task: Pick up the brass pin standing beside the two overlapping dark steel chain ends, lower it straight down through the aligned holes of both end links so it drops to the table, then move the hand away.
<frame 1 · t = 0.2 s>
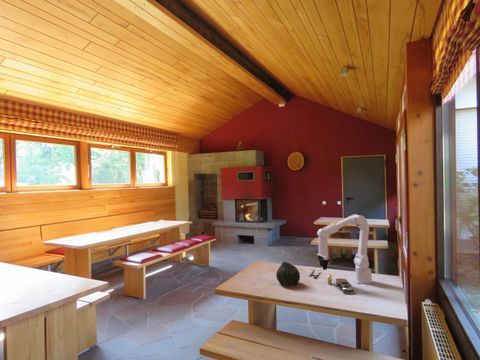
hand: (323, 268, 196), 10 cm above the table, tool pointing down, fingers open, 7 cm apart
chain ends: (344, 288, 184), on the table
squash: (287, 284, 194), on the table
hacksaw: (313, 274, 216), on the table
brass pin: (329, 284, 193), on the table
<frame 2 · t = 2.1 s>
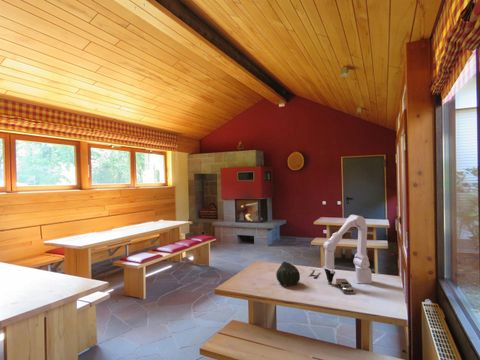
hand: (329, 281, 193), 2 cm above the table, tool pointing down, fingers closed on brass pin, 2 cm apart
brass pin: (329, 284, 193), on the table, touching gripper
everything else where it was.
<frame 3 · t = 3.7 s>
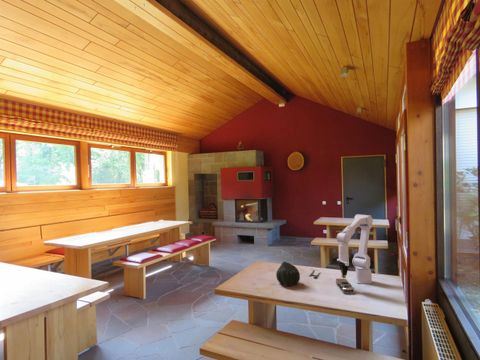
hand: (343, 274, 185), 9 cm above the table, tool pointing down, fingers closed on brass pin, 2 cm apart
brass pin: (343, 277, 185), point 7 cm above the table, touching gripper
everything else where it was.
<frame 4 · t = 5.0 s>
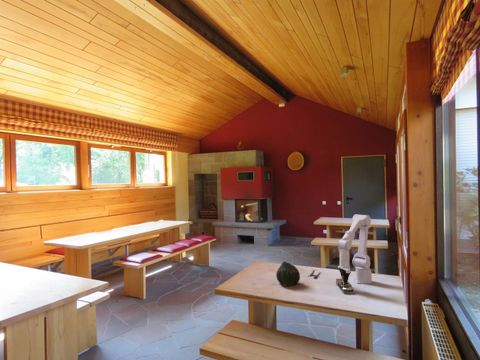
hand: (344, 281, 184), 5 cm above the table, tool pointing down, fingers closed on brass pin, 2 cm apart
brass pin: (344, 284, 184), point 3 cm above the table, touching gripper
everything else where it was.
when the fingers open (5 cm above the table, at t = 5.7 s): brass pin drops 3 cm, resting in chain ends.
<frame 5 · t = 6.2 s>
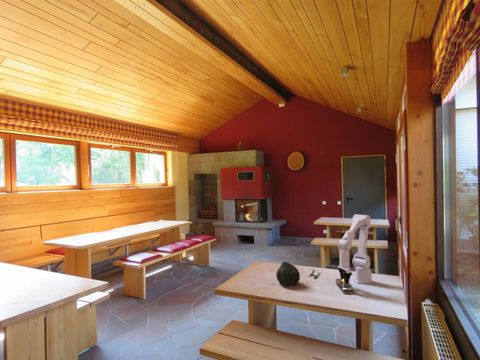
hand: (344, 281, 184), 5 cm above the table, tool pointing down, fingers open, 7 cm apart
brass pin: (344, 289, 184), resting in chain ends
everything else where it was.
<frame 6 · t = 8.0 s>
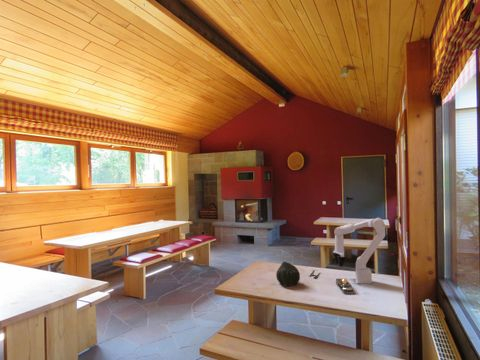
hand: (339, 264, 203), 9 cm above the table, tool pointing down, fingers open, 7 cm apart
nothing on the table moved.
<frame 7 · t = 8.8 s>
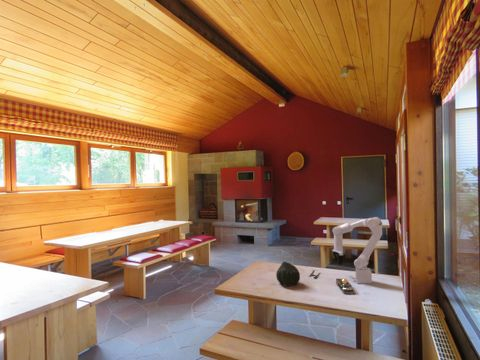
hand: (338, 263, 208), 9 cm above the table, tool pointing down, fingers open, 7 cm apart
nothing on the table moved.
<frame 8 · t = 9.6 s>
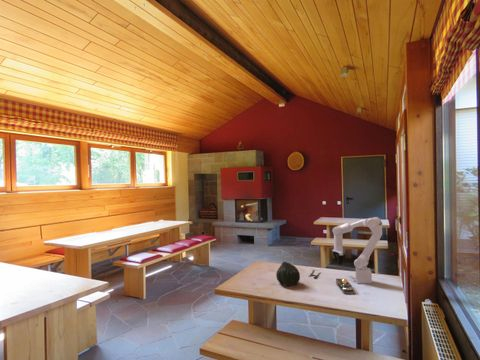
hand: (338, 263, 208), 9 cm above the table, tool pointing down, fingers open, 7 cm apart
nothing on the table moved.
at the end: brass pin 0.1 cm off-centre on the chain ends, point 0.0 cm above the chain ends's base; brass pin tilted 0°; the gripper is holding nothing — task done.
